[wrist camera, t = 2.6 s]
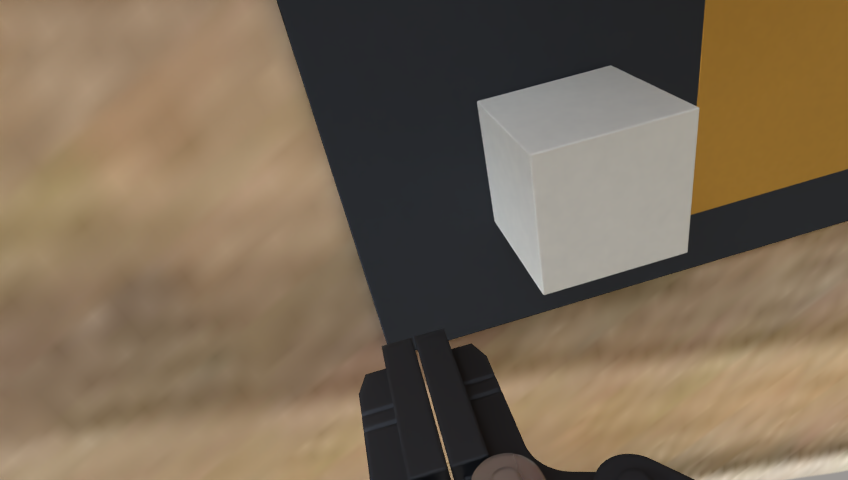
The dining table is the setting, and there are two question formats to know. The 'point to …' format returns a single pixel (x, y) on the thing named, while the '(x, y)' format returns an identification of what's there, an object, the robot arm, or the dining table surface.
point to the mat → (544, 62)
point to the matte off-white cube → (590, 174)
